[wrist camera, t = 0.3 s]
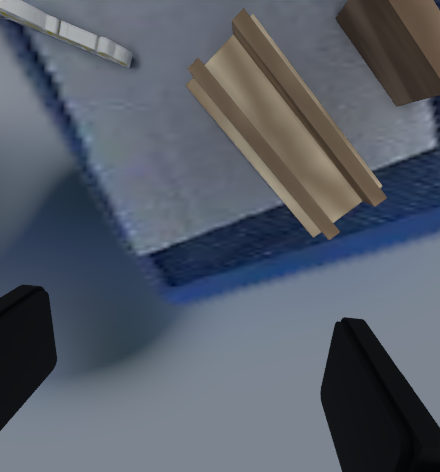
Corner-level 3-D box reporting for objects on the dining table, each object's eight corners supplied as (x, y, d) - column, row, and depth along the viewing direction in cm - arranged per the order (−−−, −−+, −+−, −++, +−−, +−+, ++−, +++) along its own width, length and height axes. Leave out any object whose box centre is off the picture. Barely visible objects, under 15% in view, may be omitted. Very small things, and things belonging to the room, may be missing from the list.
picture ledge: (252, 21, 32) (254, -3, 27) (375, 184, 36) (397, 190, 31) (188, 88, 34) (178, 78, 29) (310, 233, 38) (320, 246, 33)
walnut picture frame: (354, -1, 31) (397, -58, 22) (416, 90, 33) (476, 70, 24) (335, 18, 31) (369, -30, 23) (396, 106, 33) (448, 92, 25)
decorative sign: (140, 63, 37) (123, 43, 28) (137, 74, 38) (120, 57, 28) (-10, 1, 34) (-86, -48, 24) (-11, 13, 34) (-87, -29, 25)
